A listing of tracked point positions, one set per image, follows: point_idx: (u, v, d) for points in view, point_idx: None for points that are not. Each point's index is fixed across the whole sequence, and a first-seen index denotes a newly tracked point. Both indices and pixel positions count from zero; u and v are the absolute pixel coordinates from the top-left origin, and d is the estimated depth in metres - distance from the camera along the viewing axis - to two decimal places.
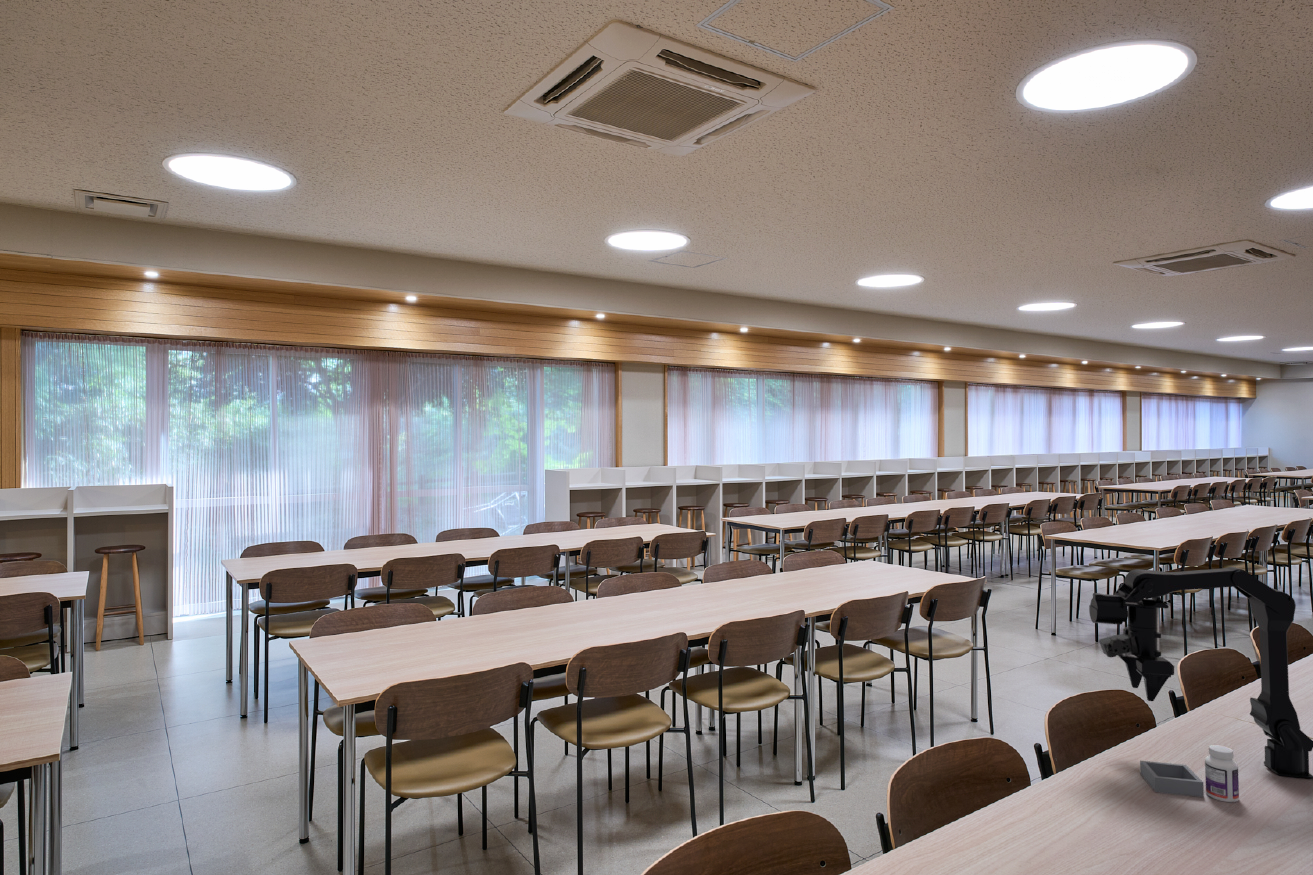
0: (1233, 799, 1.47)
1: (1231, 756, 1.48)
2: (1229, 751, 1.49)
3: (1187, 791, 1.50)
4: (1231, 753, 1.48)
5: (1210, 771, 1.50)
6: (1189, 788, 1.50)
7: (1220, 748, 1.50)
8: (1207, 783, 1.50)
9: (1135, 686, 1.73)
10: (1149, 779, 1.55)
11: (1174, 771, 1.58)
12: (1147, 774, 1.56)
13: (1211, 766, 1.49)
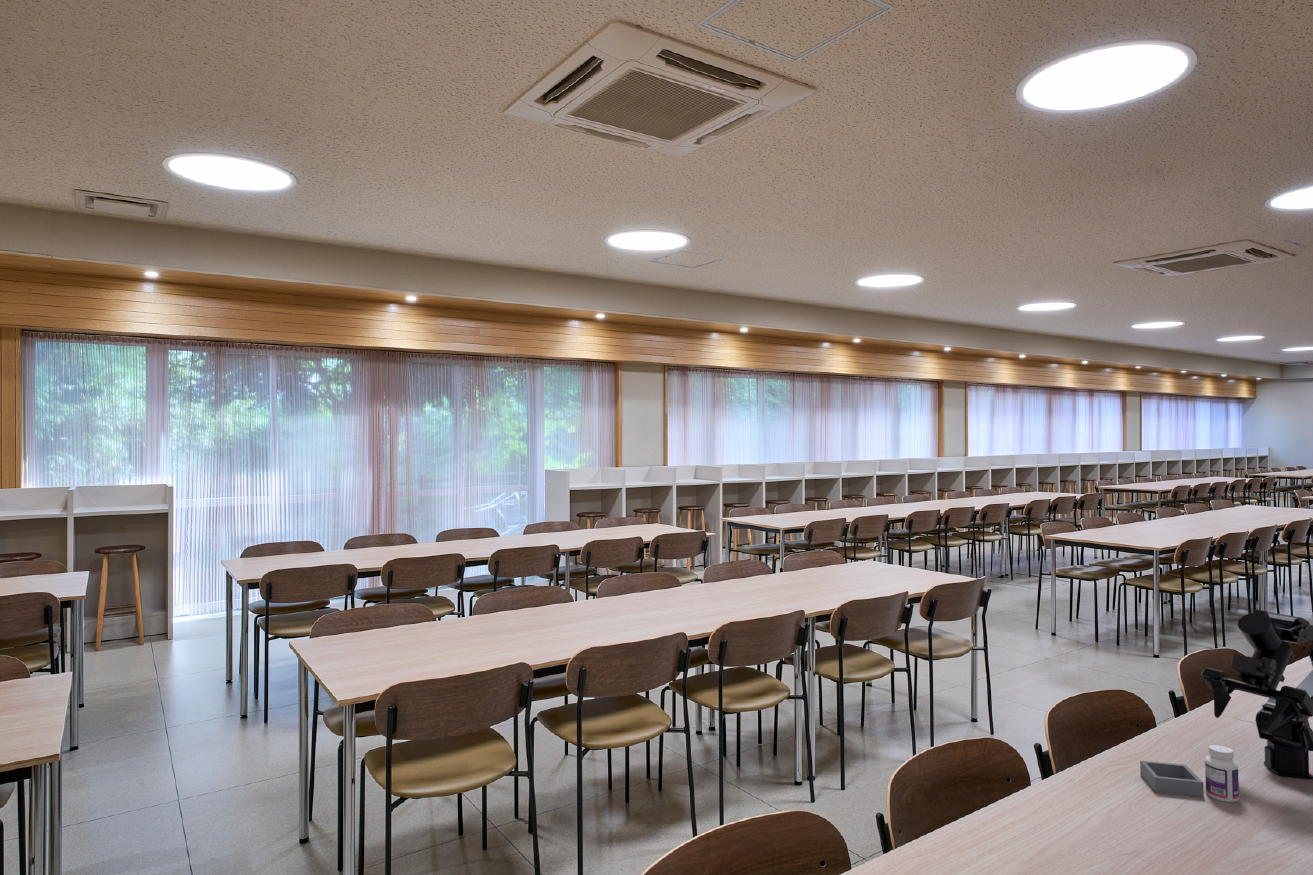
0: (1233, 799, 1.47)
1: (1231, 756, 1.48)
2: (1229, 751, 1.49)
3: (1187, 791, 1.50)
4: (1231, 753, 1.48)
5: (1210, 771, 1.50)
6: (1189, 788, 1.50)
7: (1220, 748, 1.50)
8: (1207, 783, 1.50)
9: (1217, 716, 1.57)
10: (1149, 779, 1.55)
11: (1174, 771, 1.58)
12: (1147, 774, 1.56)
13: (1211, 766, 1.49)
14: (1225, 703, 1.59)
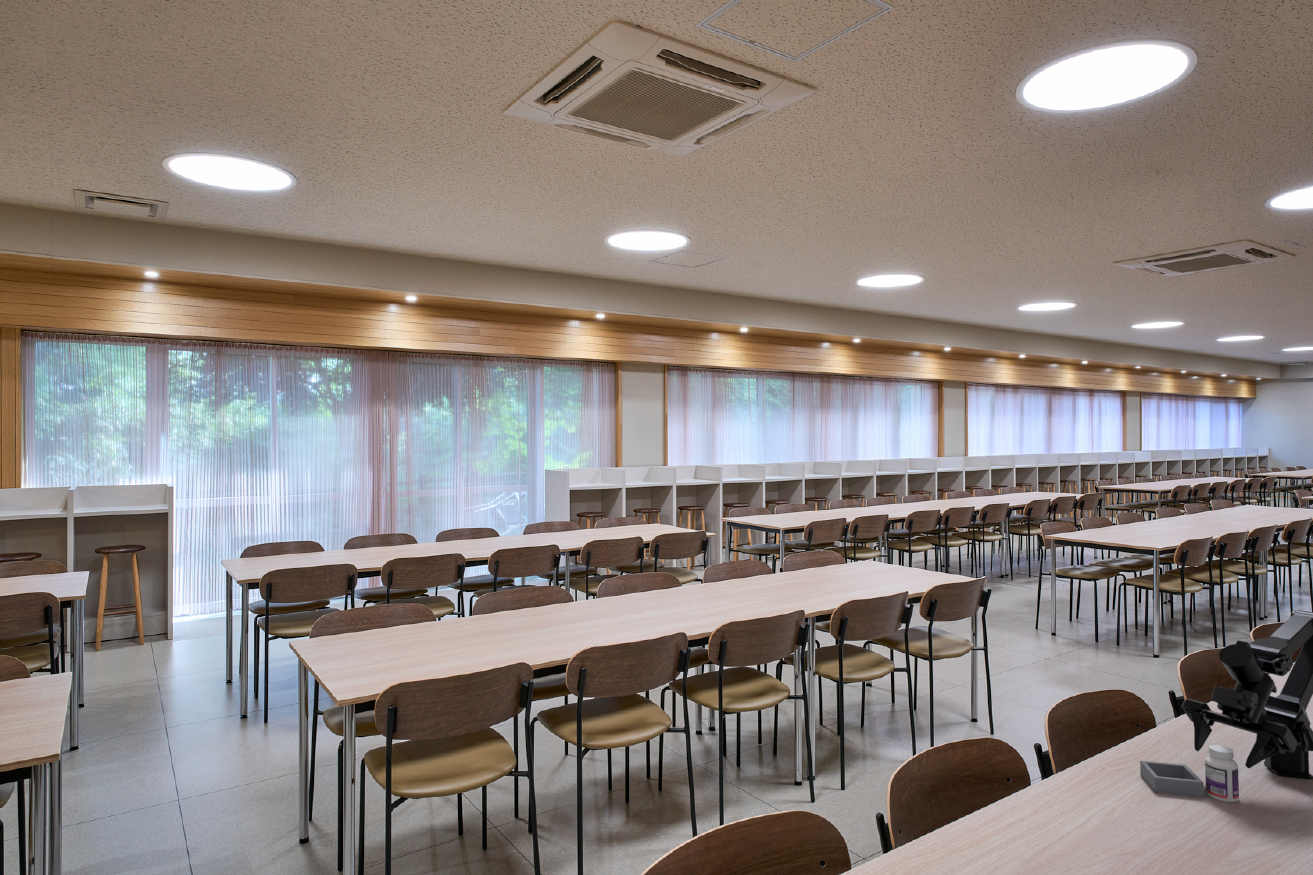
0: (1233, 799, 1.47)
1: (1231, 756, 1.48)
2: (1229, 751, 1.49)
3: (1187, 791, 1.50)
4: (1231, 753, 1.48)
5: (1210, 771, 1.50)
6: (1189, 788, 1.50)
7: (1220, 748, 1.50)
8: (1207, 783, 1.50)
9: (1197, 749, 1.54)
10: (1149, 779, 1.55)
11: (1174, 771, 1.58)
12: (1147, 774, 1.56)
13: (1211, 766, 1.49)
14: (1205, 736, 1.56)
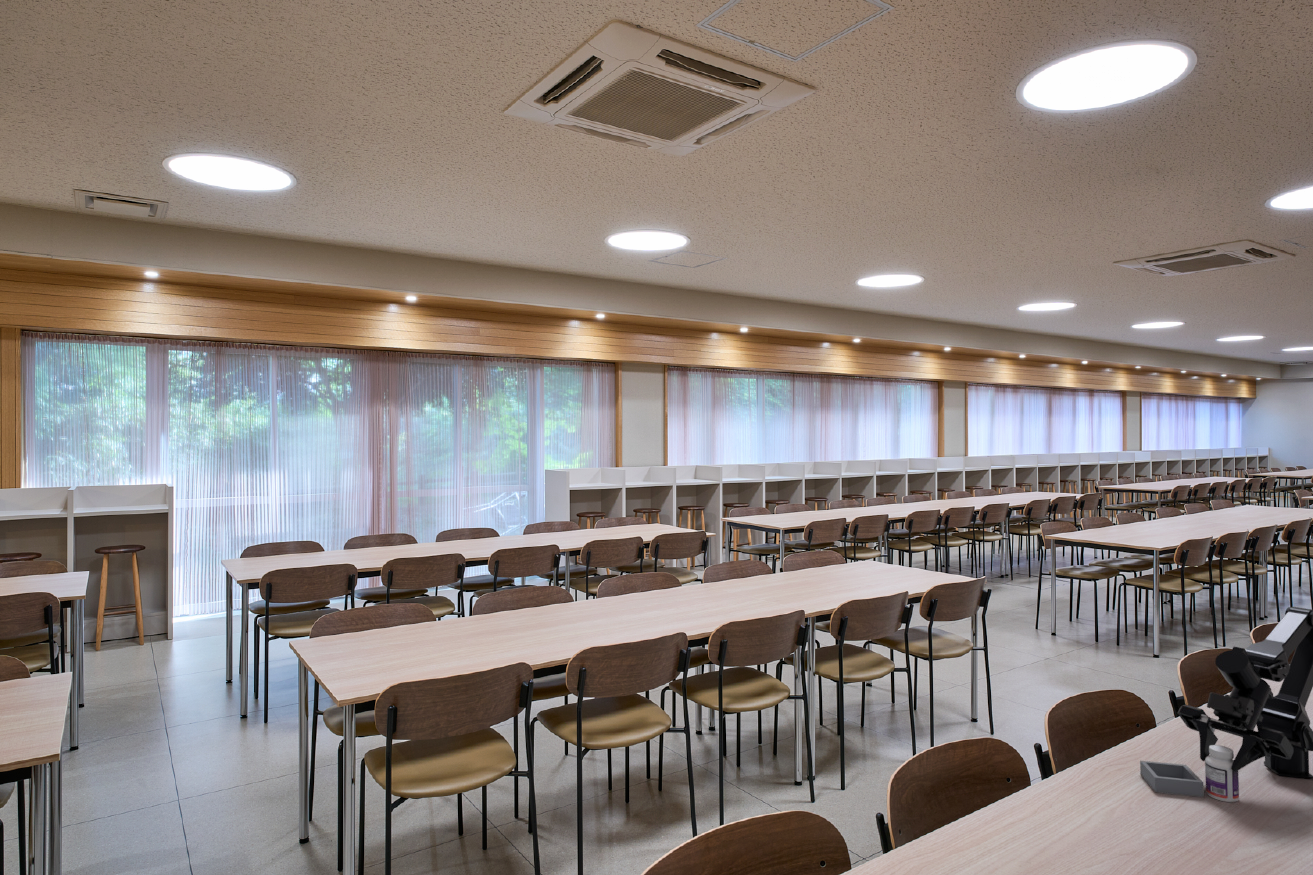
0: (1233, 799, 1.47)
1: (1231, 756, 1.48)
2: (1229, 751, 1.49)
3: (1187, 791, 1.50)
4: (1231, 753, 1.48)
5: (1210, 771, 1.50)
6: (1189, 788, 1.50)
7: (1221, 748, 1.50)
8: (1207, 783, 1.50)
9: (1203, 759, 1.52)
10: (1149, 779, 1.55)
11: (1174, 771, 1.58)
12: (1147, 774, 1.56)
13: (1211, 766, 1.49)
14: None
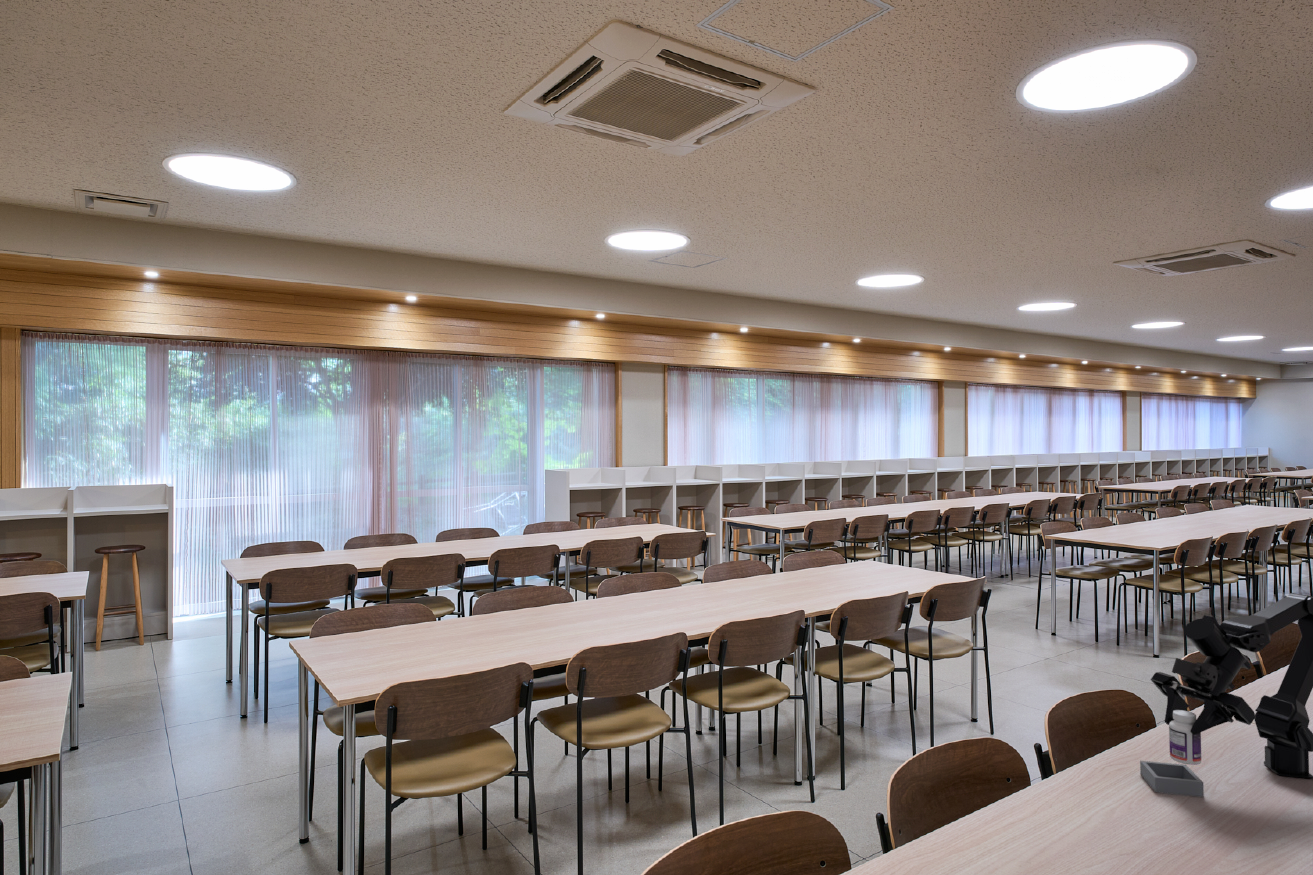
0: (1193, 762, 1.51)
1: (1192, 720, 1.51)
2: (1191, 715, 1.52)
3: (1187, 791, 1.50)
4: (1193, 717, 1.51)
5: (1171, 733, 1.53)
6: (1189, 788, 1.50)
7: (1184, 713, 1.53)
8: (1170, 746, 1.54)
9: (1168, 722, 1.56)
10: (1149, 779, 1.55)
11: (1174, 771, 1.58)
12: (1147, 774, 1.56)
13: (1172, 729, 1.53)
14: None
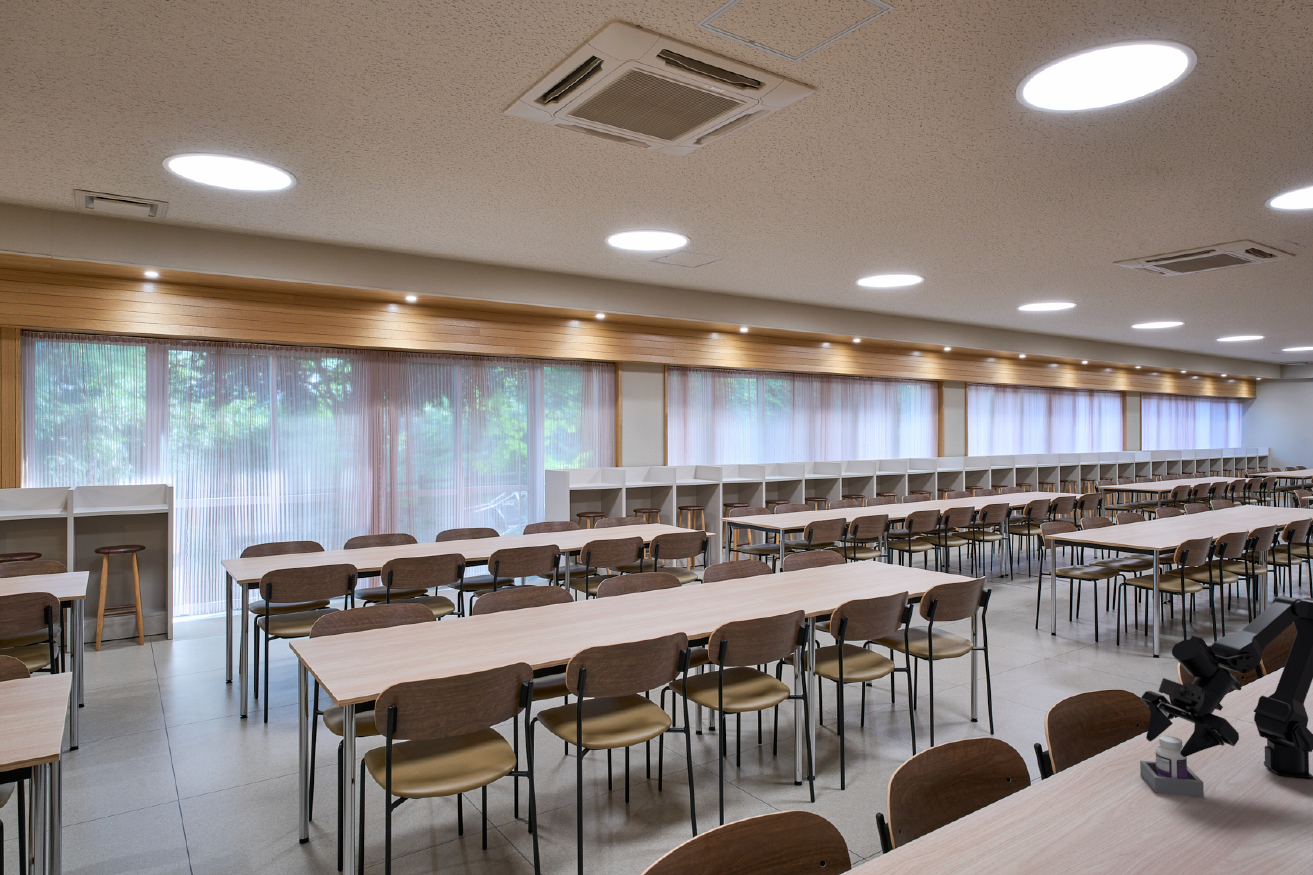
0: None
1: (1178, 746, 1.53)
2: (1176, 742, 1.54)
3: (1187, 791, 1.50)
4: (1178, 744, 1.53)
5: (1157, 759, 1.55)
6: (1189, 788, 1.50)
7: (1170, 739, 1.55)
8: (1156, 771, 1.56)
9: (1149, 739, 1.59)
10: (1149, 779, 1.55)
11: None
12: (1147, 774, 1.56)
13: (1158, 754, 1.55)
14: (1162, 728, 1.60)
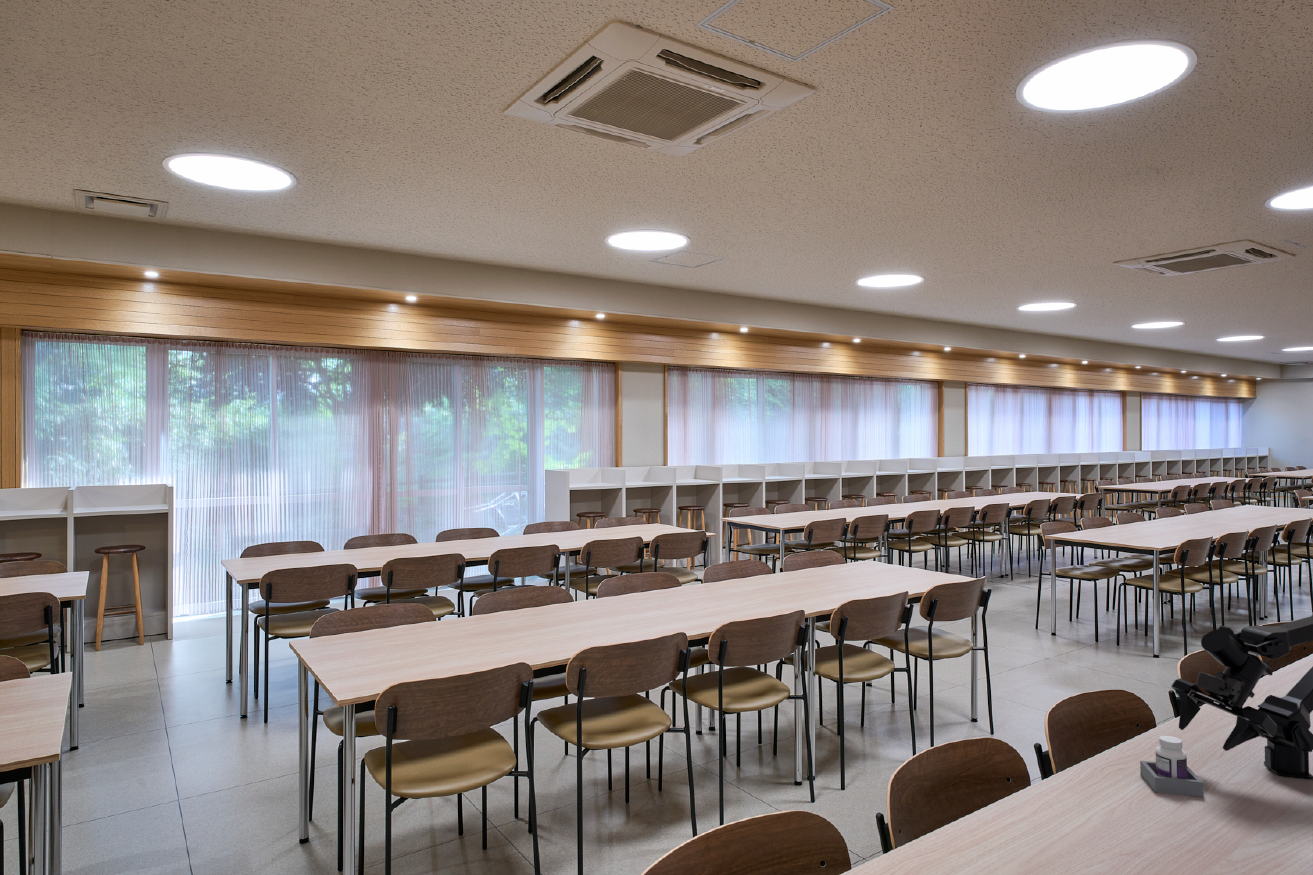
0: None
1: (1178, 746, 1.53)
2: (1176, 742, 1.54)
3: (1187, 791, 1.50)
4: (1178, 743, 1.53)
5: (1157, 759, 1.55)
6: (1189, 788, 1.50)
7: (1170, 739, 1.55)
8: (1156, 771, 1.56)
9: (1181, 728, 1.61)
10: (1149, 779, 1.55)
11: None
12: (1147, 774, 1.56)
13: (1158, 754, 1.55)
14: (1192, 715, 1.62)
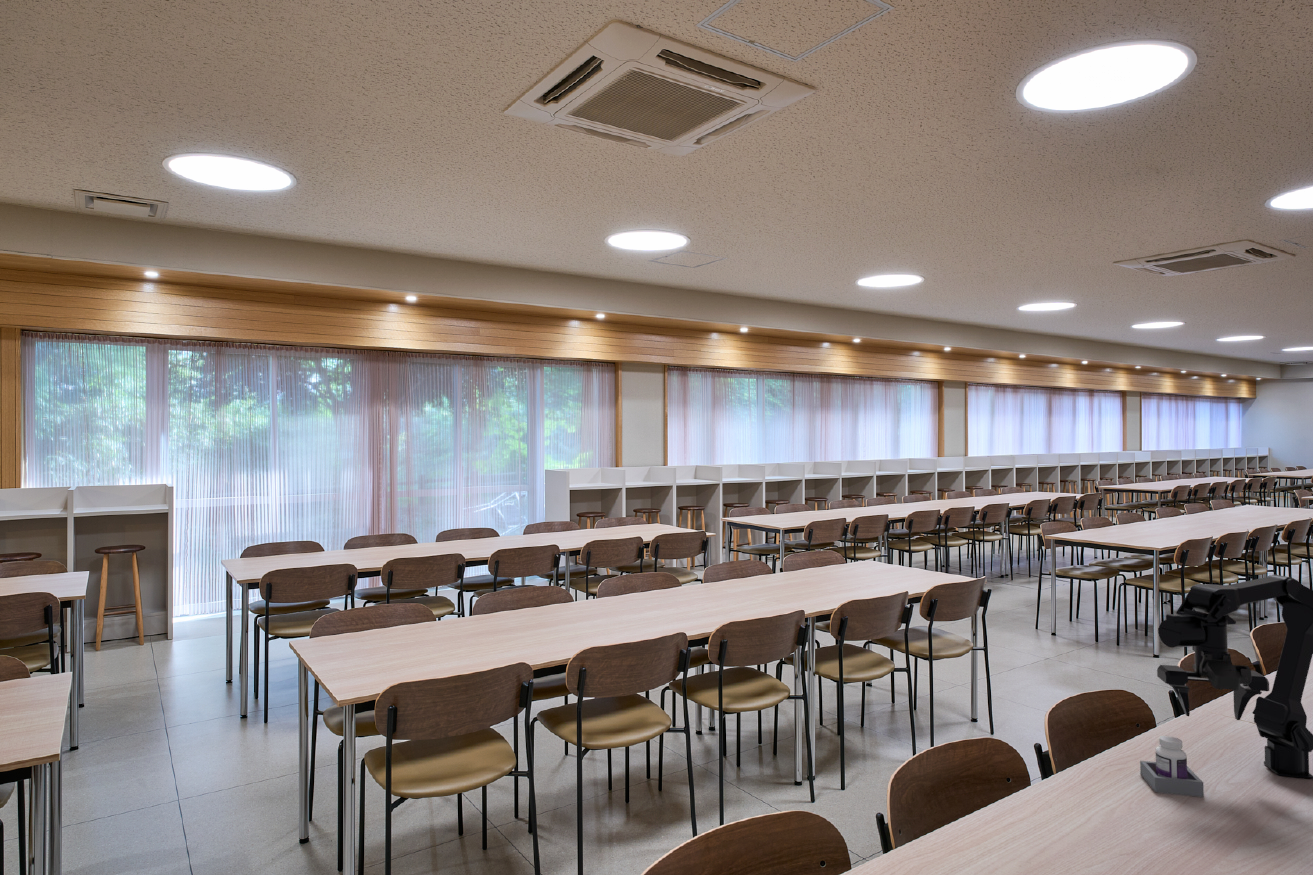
0: None
1: (1178, 746, 1.53)
2: (1176, 742, 1.54)
3: (1187, 791, 1.50)
4: (1178, 743, 1.53)
5: (1157, 759, 1.55)
6: (1189, 788, 1.50)
7: (1170, 739, 1.55)
8: (1156, 771, 1.56)
9: None
10: (1149, 779, 1.55)
11: None
12: (1147, 774, 1.56)
13: (1158, 754, 1.55)
14: None
